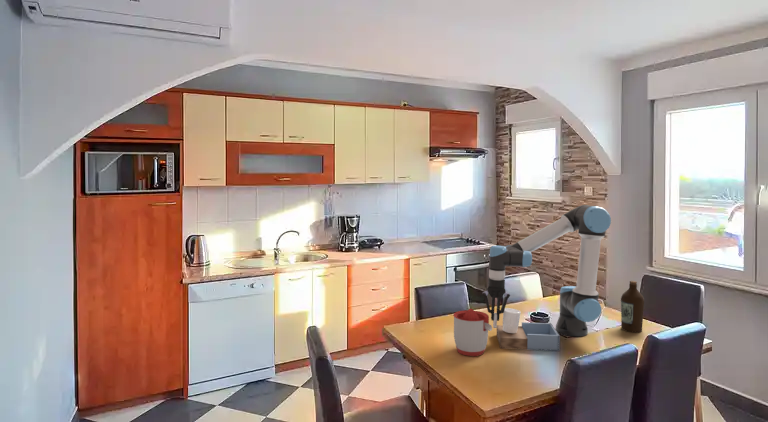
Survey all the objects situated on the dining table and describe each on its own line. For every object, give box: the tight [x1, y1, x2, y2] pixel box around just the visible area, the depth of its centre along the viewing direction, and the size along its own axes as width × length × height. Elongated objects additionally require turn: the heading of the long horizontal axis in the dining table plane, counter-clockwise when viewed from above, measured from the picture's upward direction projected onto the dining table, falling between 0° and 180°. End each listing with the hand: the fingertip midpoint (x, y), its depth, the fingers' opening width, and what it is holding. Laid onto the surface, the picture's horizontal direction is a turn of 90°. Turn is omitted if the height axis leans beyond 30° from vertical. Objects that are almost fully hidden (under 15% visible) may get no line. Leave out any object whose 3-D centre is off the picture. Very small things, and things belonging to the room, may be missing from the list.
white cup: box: [502, 307, 522, 333], centre depth 224 cm, size 8×8×10 cm
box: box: [521, 321, 561, 352], centre depth 223 cm, size 14×18×7 cm
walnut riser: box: [496, 324, 528, 351], centre depth 225 cm, size 12×18×5 cm, turn 172°
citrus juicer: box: [453, 308, 493, 357], centre depth 212 cm, size 16×17×20 cm
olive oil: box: [620, 280, 645, 333], centre depth 241 cm, size 11×11×25 cm
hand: (494, 327), depth 226 cm, fingers closed
